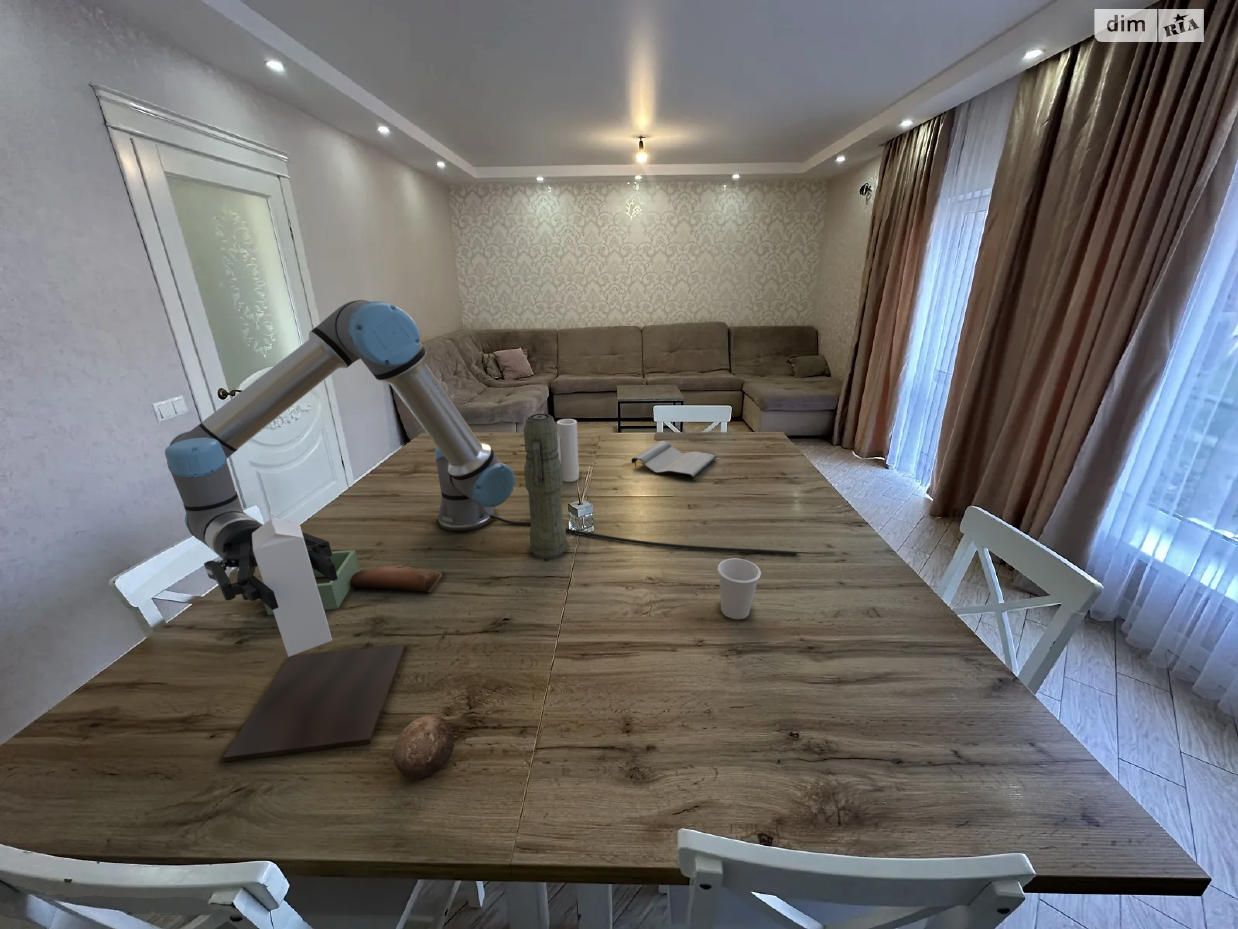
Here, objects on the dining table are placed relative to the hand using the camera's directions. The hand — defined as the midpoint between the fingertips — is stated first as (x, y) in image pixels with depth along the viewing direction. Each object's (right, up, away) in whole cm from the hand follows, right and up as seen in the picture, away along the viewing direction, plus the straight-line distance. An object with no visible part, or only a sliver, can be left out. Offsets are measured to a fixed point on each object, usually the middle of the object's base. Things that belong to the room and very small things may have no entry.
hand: (304, 586), depth 70 cm
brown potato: (+18, -25, 0) cm, 31 cm away
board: (-3, -21, +10) cm, 24 cm away
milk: (-4, -10, +7) cm, 13 cm away
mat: (+66, +17, +106) cm, 126 cm away
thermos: (+28, -4, +53) cm, 60 cm away
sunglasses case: (-4, -9, +40) cm, 41 cm away
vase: (+26, +13, +95) cm, 99 cm away
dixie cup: (+70, -13, +30) cm, 77 cm away
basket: (-21, -11, +37) cm, 44 cm away
